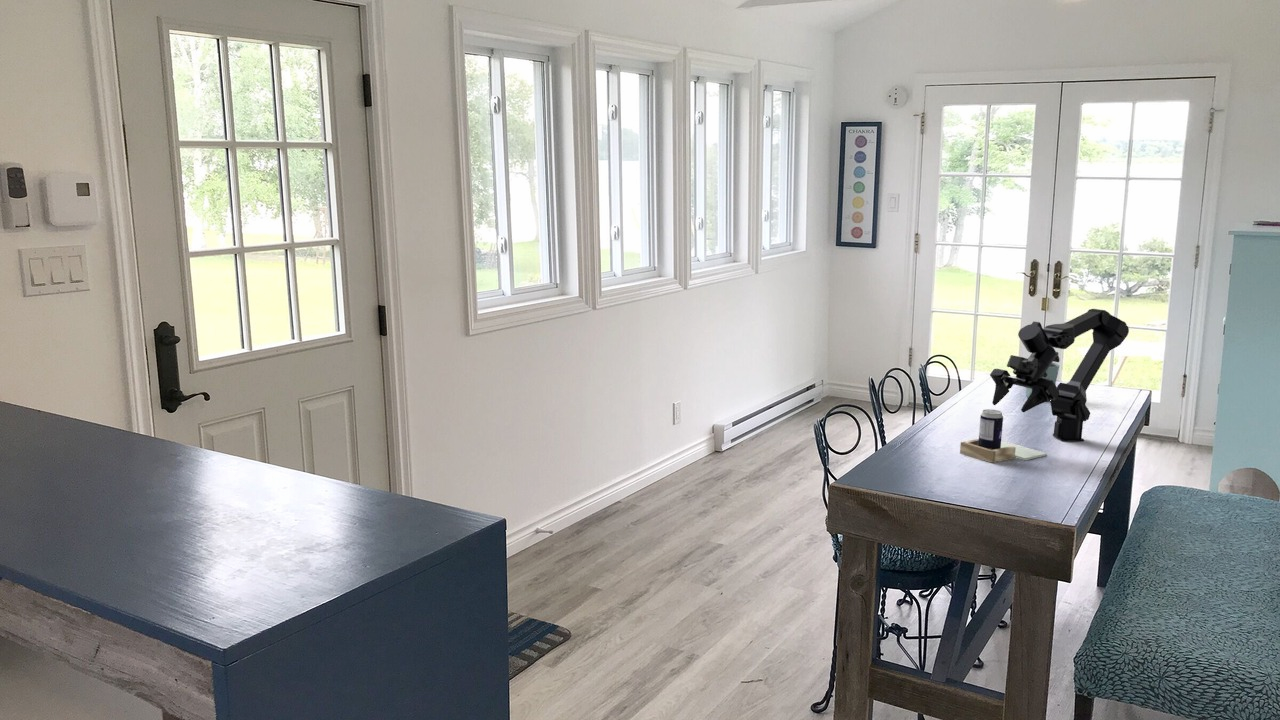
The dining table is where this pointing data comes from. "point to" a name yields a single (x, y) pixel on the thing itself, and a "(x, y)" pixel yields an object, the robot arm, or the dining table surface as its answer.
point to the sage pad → (1023, 451)
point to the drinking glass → (1051, 375)
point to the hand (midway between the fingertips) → (1007, 407)
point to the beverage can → (990, 429)
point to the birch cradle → (986, 451)
